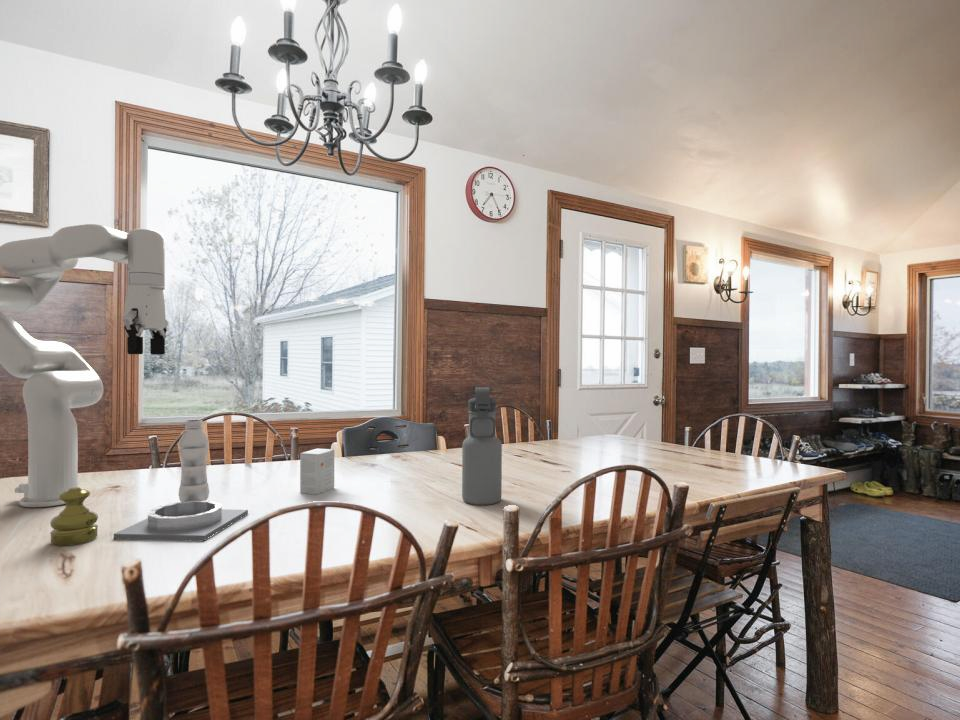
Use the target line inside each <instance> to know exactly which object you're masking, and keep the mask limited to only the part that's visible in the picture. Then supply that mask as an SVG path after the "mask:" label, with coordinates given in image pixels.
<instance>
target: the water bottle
mask: <svg viewBox="0 0 960 720" xmlns="http://www.w3.org/2000/svg"><path fill="white" fill-rule="evenodd" d="M474 391H475V397H473V398H470V399H469V400H468V401H467V404H468V405H467V413H468V436H467V437H466V438H465V439H463V441H462V448H461V449H462V450H461V451H462V453H461V456H462V458H461V459H462V460H461V462H462V463H461V464H462V465H461V475H462V477H461V497H462V501H464V503H466V504H468V505H469V504H470V505H474V506H475V505H476V506H490V505H495V504H497V503H499V502H500V501H501V500H502V493H503V492H502V489H503V487H502V484H503V483H502V477H503V476H502V473H503V472H502V471H503V470H502V468H503V467H502V464H503V462H502V460H503V459H502V457H503V455H502V454H503V453H502V451H503V449H502V448H503V445H502V441H501V440H500V438H498V437H497V435H496V413H497V400H496V399H495V398H492V397H490V396H491V394H490V392H491V391H490V386H475V387H474Z"/></svg>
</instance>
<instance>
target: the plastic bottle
mask: <svg viewBox="0 0 960 720" xmlns="http://www.w3.org/2000/svg"><path fill="white" fill-rule="evenodd" d="M184 423H185V426H184V430H185V432H184V433H183V434H182V436H181V437H180V438H179V441H178V450H179V456H180V465H181V467H180V468H181V472H180V473H181V474H180V485H179V487H178V499H179V502H186V501H208V499H209V497H210V496H209V495H210V488H209V487H210V486H209V482H208V473H207V463H208V462H207V460H208V451H209V446H210V445H209V444H210V441H209V438H208V436H207V435H206V433H205V432H204V431H203V428H204V425H203V423H204V422H203V419H186V420H185V422H184Z"/></svg>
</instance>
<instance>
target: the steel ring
mask: <svg viewBox="0 0 960 720" xmlns="http://www.w3.org/2000/svg"><path fill="white" fill-rule="evenodd" d="M222 509H223V508H222V503H221V502H218V501H214V500H206V501H186V502H181V501H177V502H172V503H169V504H164V505H159V506H157V507H155V508H153V509H150V510H148V514H147V519H148V528H150V529H153V530H156V531H180V530H189V529H196V528H200V527H204V526H207V525H211V524H214V523H215V522H217V521H219V520H221V519H222ZM193 513H199V514H195V515H188V516H179V517H172V516H177V515H184V514H193Z"/></svg>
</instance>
